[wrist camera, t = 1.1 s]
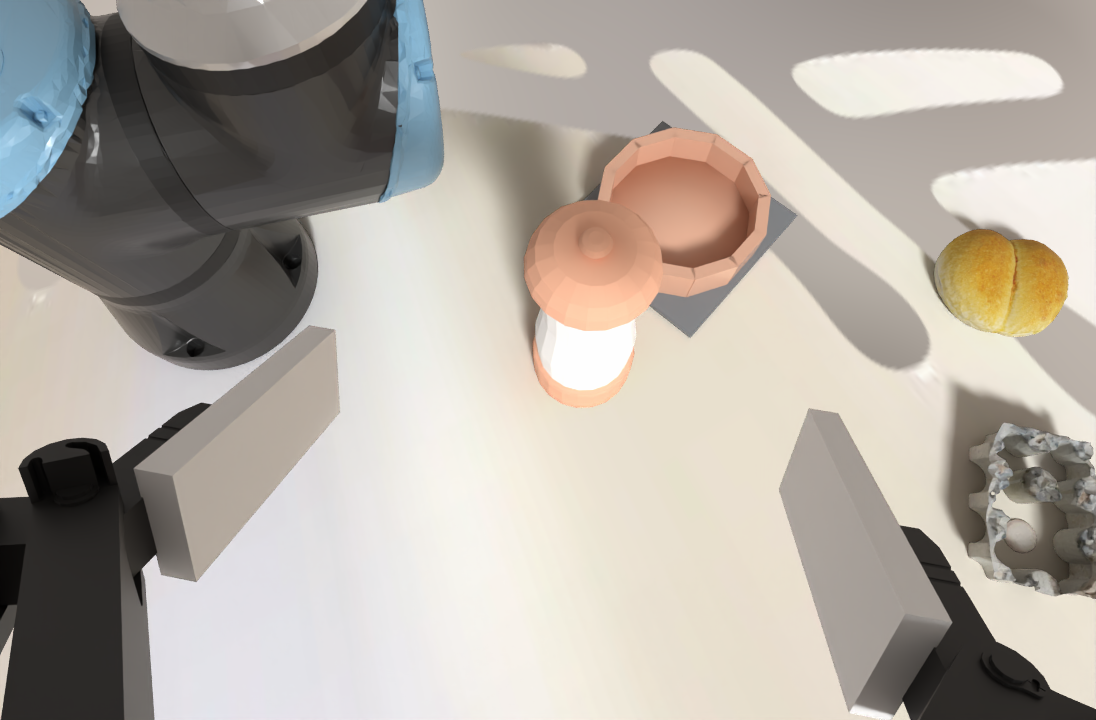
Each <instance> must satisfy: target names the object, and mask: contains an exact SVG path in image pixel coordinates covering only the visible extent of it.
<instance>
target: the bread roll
mask: <svg viewBox="0 0 1096 720" xmlns="http://www.w3.org/2000/svg"><path fill="white" fill-rule="evenodd" d="M934 277H935V283H936V287H937V290H938V293H939V295H940V296H941V298H942V300H943V301H944V303H945V304H946V306H947V307H948V308H949V310H950V311H951V312H952V314H953V315H954V316H955V317H956V318H957V319H959V320H960V321H962V322H963V323H965V324H966V325H968V326H970V327H973V328H975V329H977V330H980V331H985V332H991V333H998V334H1001V335H1004V336H1008V337H1020V336H1028V335H1033V334H1037V333H1039V332H1041V331H1042V330H1043V329H1045V328H1046V327H1047V326H1048V325H1049V324H1050V323H1051V322H1052V321H1053V320H1054V319H1055V317H1056V316H1057V314H1058V313H1059V311H1060V309H1061V308H1062V306H1063V304H1064V301H1065V300H1066V298H1067V290H1068V279H1069V277H1068V273H1067V270H1066V268H1065V265H1064V263H1063V261H1062V260H1061V258H1060V257H1059V256H1058V255H1057V254H1056V253H1055V252H1053V251H1052V250H1051V249H1050V248H1048V247H1047V246H1046V245H1044V244H1042V243H1040V242H1038V241H1034V240H1026V239H1021V240H1010V241H1008V240H1007V239H1006V238H1005V237H1004V236H1002V235H1001V234H999V233H997V232H995V231H992V230H986V229H977V230H972V231H969V232H966V233H965V234H962V235H960V236H959V237H957V238H955V239H954V240H953V241H952V242H951V243H949V244H948V245H947V247H946V248H945V249H944V250H943V251H942V252H941V254H940V256H939V257H938V259H937V261H936V264H935V270H934Z"/></svg>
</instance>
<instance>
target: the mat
mask: <svg viewBox="0 0 1096 720" xmlns="http://www.w3.org/2000/svg"><path fill="white" fill-rule="evenodd" d="M670 128H672V127H670V126H669V125H668V124H666V123H665V122H663V121H662V122H661V123H660V124H659V125H658V126H657V127H656V128H655V129H654V130H653V131H652V132H651V133H650V134H653V133H656V132H659V131H663V130H666V129H670ZM600 187H601V183H600V184H599V185H598V186H597V187H596V188H595V189H594V190H593V191H592V192H591V193H590V194H589V195H588V196H587V197H586V198H585V199H584V200H583V201H585V200H598V196H599V192H600ZM796 216H797V215H796V214H795V213H793V212H792V211H791V210H789V209H788V208H786V207H785V206H783V205H782V204H781V203H779V202H778V201H776V200H775V199H773V198H772V197H771V199H770V208H769V217H768V225H767V234H766V236H765V238H764V239H763V241H762V242H761V244H760V245H759V247H758V248H757V250H756V251H755V253H754V254H753V256H752V257H751V258H750V259H749V260H748V261H747V263H746V264H745V265H744V266H743V267H742V268H741V269H740V270H739V272H738V273H737V274H736V275H735V276H734V277H733V278H732V280H731V281H730V282H729V283H728V284H727V285H724V286H721V287H718V288H715V289H711V290H708V291H705V292H702V293H699V294H695V295H692V296H689V297H681V296H676V295H670V294H665V293H659V292H658V294H657V295H656V297H655V298H654V299H653V301H652V302H651V304H650V305H649V306H650V307H652V308H653V309H654V310H655V311H657V312H658V313H659V314H660V315H662V316H663V317H664V318H665V319H667V320H668V321H669V322H671V323H672V324H673V325H674V326H676V327H677V328H678V329H679V330H681V331H682V332H683V333H685V334H686V335H687V336H688V337H690V338H691V336H692V335H693V334H694V333H695V332H696V331H697V330H698V328H699V327H700V326H701V325H702V324H703V323H704V322H705V320H706V319H707V318H708V317H709V316H710V315H711V314H712V312H713V311H714V310H715V309H716V308H717V307H718V306H719V304H720V303H721V302H722V301H723V300H724V299H725V298H726V296H727V295H728V294H729V293H730V292H731V291H732V290H733V288H734V287H735V286H736V285H737V284H738V283H739V282H740V280H741V279H742V278H743V277H744V276H745V275H746V274H747V272H748V271H749V270H750V269H751V268H752V267H753V266H754V264H755V263H756V262H757V261H758V260H759V259H760V258H761V256H762V255H763V254H764V253H765V252H766V251H767V250H768V249H769V247H770V246H771V245H772V244H773V243H774V242H775V241H776V239H777V238H778V237H779V236H780V235H781V233H782V232H783V231H784V230H785V229H786V228H787V227H788V226H789V225H790V223H791V222H792V221H793V220H794V219H795V218H796Z"/></svg>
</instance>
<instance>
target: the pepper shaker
mask: <svg viewBox="0 0 1096 720" xmlns="http://www.w3.org/2000/svg"><path fill="white" fill-rule="evenodd" d="M662 276H663V264H662V254H661V249H660V246H659V243H658V241H657V239H656V237H655V235H654V233H653V230H652V229H651V228H650V227H649V226H648V225H647V224H646V222H645V221H644V220H643V219H642V218H641V217H640V216H639V215H638V214H636V213H634V212H632V211H631V210H629V209H627V208H625V207H624V206H622V205H619V204H615V203H611V202H607V201H603V200H585V201H578V202H575V203H572V204H569V205H565V206H562V207H560V208H559V209H557V210H556V211H554V212H553V213H551V214H550V215H549V216H547V217H546V218H544V220H543V221H542V222H541V224H540V225H539V226H538V227H537V229H536V230H535V231H534V233H533V234H532V236H531V239H530V241H529V244H528V247H527V250H526V253H525V256H524V278H525V281H526V284H527V286H528V289H529V291H530V294H531V297H532V298H533V299H534V300H535V302H536V303H537V304H538V305H539V306H540V311H539V314H538V317H537V320H536V323H535V337H534V340H533V359H534V367H535V372H536V374H537V377H538V380H539V383H540V384H541V386H542V387H543V388H544V389H545V391H546V392H547V393H548V394H549V395H550V396H551V397H553V398H554V399H556V400H557V401H559V402H560V403H562V404H565V405H569V406H572V407H576V408H579V407H593V406H596V405H599V404H602V403H605V402H606V401H608V400H609V399H610V398H612V397H613V396H614V395H616V394H617V393H618V392H619V390H620V389H621V387H622V386H623V384H624V383H625V381H626V379H627V376H628V374H629V371H630V368H631V365H632V361H633V357H634V342H635V339H636V325H635V318H636V317H637V316H639V315H640V314H641V313H643V312H644V311H645V310H647V308H648V307H649V305H650V304H651V302H652V301H653V299H654V298H655V297H656V295H657V294H658V292H659V288H660V284H661V280H662Z"/></svg>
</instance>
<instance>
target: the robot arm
mask: <svg viewBox="0 0 1096 720" xmlns="http://www.w3.org/2000/svg"><path fill="white" fill-rule="evenodd" d="M116 3H117V10H118V12H117V13H112V14H107V15H101V16H91V15H90V13H89V12H88V11H87V9H86V8H85V6H84V4H83V3H82V2H81V1H80V0H0V245H2V246H4V247H6V248H8V249H10V250H12V251H14V252H15V253H17V254H19V255H21V256H23V257H25V258H27V259H29V260H31V261H33V262H35V263H36V264H38V265H40V266H42V267H44V268H46V269H48V270H50V271H52V272H54V273H55V274H57V275H59V276H61V277H63V278H65V279H67V280H69V281H71V282H73V283H74V284H76V285H78V286H80V287H82V288H84V289H86V290H88V291H90V292H92V293H94V294H95V295H97V296H99V298H100V299H101V300H102V302H103V303H104V304H105V306H106V307H107V308H108V310H109V311H110V312H111V313H112V315H113V316H114V317H115V319H116V320H117V321H118V323H119V324H120V325H121V327H122V328H123V329H124V331H125V332H126V333H127V334H128V335H129V337H130V338H132V339H133V340H134V341H135V342H136V343H137V344H138V345H140V346H141V347H142V348H144V349H145V350H147V351H148V352H150V353H152V354H154V355H156V356H158V357H160V358H162V359H164V360H166V361H168V362H171V363H173V364H175V365H178V366H181V367H185V368H190V369H197V370H218V369H225V368H230V367H234V366H238V365H241V364H244V363H247V362H249V361H252V360H254V359H256V358H258V357H260V356H262V355H264V354H265V353H267V352H268V351H270V350H271V349H273V348H274V347H276V346H277V345H278V344H279V343H281V342H282V341H283V340H284V339H285V338H286V337H287V336H288V335H289V334H290V333H291V332H292V331H293V330H294V329H295V327H296V326H297V325H298V324H299V322H300V321H301V319H302V318H303V316H304V315H305V313H306V311H307V309H308V307H309V305H310V303H311V300H312V298H313V295H314V291H315V287H316V282H317V258H316V253H315V249H314V246H313V243H312V241H311V239H310V237H309V235H308V233H307V232H306V230H305V229H304V227H303V226H302V225H301V224H300V222H299V221H298V220H297V219H296V218H301V217H306V216H311V215H316V214H321V213H326V212H331V211H336V210H341V209H346V208H351V207H356V206H361V205H366V204H371V203H376V202H379V203H381V202H385V201H387V200H389V199H390V198H391V197H393V196H396V195H400V194H403V193H407V192H410V191H414V190H417V189H421V188H424V187H426V186H428V185H430V184H432V183H433V182H434V181H435V180H436V179H437V178H438V176H439V174H440V172H441V170H442V167H443V162H444V142H443V130H442V120H441V112H440V104H439V96H438V90H437V83H436V78H435V74H434V72H433V60H432V54H431V43H430V37H429V31H428V25H427V20H426V14H425V9H424V4H423V0H116ZM339 413H340V403H339V386H338V369H337V352H336V335H335V330H333V329H327V328H321V327H315V326H308V327H307V328H306V329H304V330H303V331H302V332H301V333H299V334H298V335H297V336H296V337H295V338H293V339H292V340H291V341H290V342H288V343H287V344H286V345H285V346H283V347H282V348H281V349H280V350H279V351H277V352H276V353H275V354H274V355H272V356H271V357H270V358H269V359H267V360H266V361H265V362H264V363H263V364H261V365H260V366H259V367H258V368H256V369H255V370H254V371H253V372H252V373H250V374H249V375H248V376H247V377H245V378H244V379H243V380H242V381H240V382H239V383H238V384H237V385H236V386H234V387H233V388H232V389H231V390H229V391H228V392H227V393H226V394H224V395H223V396H222V397H221V398H220V399H218V400H217V401H216V402H215V403H213V404H206V403H199V404H197V405H195V406H192V407H190V408H188V409H185V410H183V411H181V412H179V413H177V414H176V415H175V416H173V417H172V418H171V419H170V420H168V421H167V422H166V423H164V424H163V425H162V428H158V429H157V430H155V431H154V432H153V433H151V434H150V435H149V437H148V439H146V438H145V439H144V440H142V441H141V442H140V443H138V444H137V445H136V446H135V447H133V448H132V449H131V450H129V451H128V452H127V453H125V454H124V455H123V456H122V457H120V458H119V459H118V460H116V461H115V462H114V463H113V464H112V461H111V457H110V454H109V450H108V448H107V446H106V444H105V443H103V442H101V441H99V440H97V439H90V438H76V439H66V440H62V441H59V442H55V443H51V444H48V445H46V446H44V447H42V448H40V449H38V450H35V451H34V452H32V453H31V454H30V455H28V456H27V457H26V458H25V459H23V461H22V463H21V464H20V466H19V468H18V469H19V471H20V474H21V477H22V479H23V482H24V485H25V487H26V490H27V493H28V496H29V497H15V498H0V654H1V652H2V650H3V648H4V646H5V644H6V642H7V640H8V638H9V636H10V634H11V632H12V630H13V627H14V631H13V638H12V646H11V653H10V660H9V667H8V674H7V681H6V688H5V695H4V702H3V709H2V716H1V720H154V706H153V691H152V676H151V662H150V647H149V632H148V617H147V602H146V588H145V578H144V575H143V571H142V568H143V567H144V566H145V565H146V564H147V563H148V562H149V561H150V560H151V559H152V558H153V557H154V556H155V555H156V556H157V560H158V564H159V568H160V572H161V575H164V576H169V577H174V578H179V579H184V580H189V581H194V582H197V581H198V580H199V578H200V577H201V576H202V575H203V574H204V572H205V571H206V570H207V569H208V568H209V566H210V565H211V564H212V563H213V562H214V561H215V559H216V558H217V557H218V556H219V555H220V553H221V552H222V551H223V550H224V549H225V548H226V546H227V545H228V544H229V543H230V542H231V540H232V539H233V538H234V537H235V536H236V535H237V533H238V532H239V531H240V530H241V529H242V527H243V526H244V525H245V524H246V523H247V522H248V520H249V519H250V518H251V517H252V516H253V514H254V513H255V512H256V511H257V510H258V509H259V507H260V506H261V505H262V504H263V503H264V501H265V500H266V499H267V498H268V497H269V495H270V494H271V493H272V492H273V491H274V490H275V488H276V487H277V486H278V485H279V484H280V482H281V481H282V480H283V479H284V478H285V477H286V475H287V474H288V473H289V472H290V471H291V469H292V468H293V467H294V466H295V465H296V464H297V462H298V461H299V460H300V459H301V458H302V456H303V455H304V454H305V453H306V452H307V451H308V449H309V448H310V447H311V446H312V445H313V443H314V442H315V441H316V440H317V439H318V438H319V436H320V435H321V434H322V433H323V432H324V430H325V429H326V428H327V427H328V426H329V424H330V423H331V422H332V421H333V420H334V419H335V417H336V416H337V415H338V414H339ZM779 492H780V495H781V498H782V501H783V504H784V507H785V511H786V514H787V517H788V520H789V523H790V527H791V530H792V533H793V536H794V539H795V542H796V546H797V549H798V552H799V555H800V558H801V562H802V565H803V568H804V571H805V574H806V577H807V581H808V584H809V587H810V590H811V593H812V597H813V600H814V603H815V606H816V609H817V612H818V616H819V619H820V622H821V625H822V628H823V632H824V635H825V638H826V641H827V644H828V648H829V651H830V654H831V657H832V660H833V663H834V667H835V670H836V673H837V676H838V679H839V683H840V686H841V689H842V692H843V695H844V698H845V702H846V705H847V708H848V711H849V713H852V714H857V715H862V716H867V717H872V718H877V719H882V720H892V718H893V716H894V715H895V713H896V712H897V710H898V709H899V707H900V705H901V704H902V702H904V704H905V707H906V709H907V712H908V714H909V717H910V719H911V720H1096V709H1094V708H1092V707H1089V706H1087V705H1085V704H1082V703H1080V702H1078V701H1075V700H1073V699H1071V698H1068V697H1066V696H1064V695H1061V694H1059V693H1057V692H1055V691H1053V690H1051V689H1050V687H1049V685H1048V683H1047V682H1046V680H1045V678H1044V676H1043V675H1042V674H1041V673H1040V672H1039V671H1038V670H1037V669H1036V668H1035V667H1034V665H1033V664H1032V663H1031V662H1029V661H1028V660H1027V659H1025V658H1024V657H1023V656H1021V655H1020V654H1019V653H1017V652H1016V651H1014V650H1012V649H1010V648H1008V647H1006V646H1004V645H1002V644H1000V643H998V642H996V641H995V639H994V637H993V636H992V634H991V633H990V631H989V629H988V628H987V626H986V624H985V623H984V621H983V619H982V618H981V616H980V614H979V613H978V611H977V609H976V608H975V606H974V604H973V603H972V601H971V599H970V598H969V596H968V594H967V593H966V591H965V589H964V588H963V587H961V586H960V584H961V583H960V581H959V579H958V578H957V576H956V574H955V573H954V571H951V566H950V564H949V563H948V561H947V559H946V558H945V556H944V555H943V553H942V551H941V550H940V548H939V547H938V546H937V545H936V544H935V543H934V542H933V541H932V540H931V539H930V538H929V537H928V536H926V535H925V534H924V533H923V532H922V531H921V530H920V529H917V528H911V527H906V526H900V525H899V524H898V522H897V520H896V518H895V516H894V515H893V513H892V511H891V509H890V507H889V505H888V504H887V502H886V500H885V498H884V496H883V494H882V493H881V491H880V489H879V487H878V485H877V483H876V482H875V480H874V478H873V476H872V474H871V472H870V471H869V469H868V467H867V465H866V463H865V461H864V460H863V458H862V456H861V454H860V452H859V450H858V449H857V447H856V445H855V443H854V441H853V439H852V438H851V436H850V434H849V432H848V430H847V428H846V427H845V425H844V423H843V421H842V419H841V418H840V416H839V414H838V413H833V412H827V411H821V410H815V409H808V412H807V415H806V418H805V420H804V423H803V426H802V428H801V431H800V434H799V436H798V439H797V442H796V444H795V447H794V450H793V453H792V455H791V458H790V461H789V463H788V466H787V469H786V471H785V474H784V477H783V479H782V482H781V485H780V487H779Z"/></svg>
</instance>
